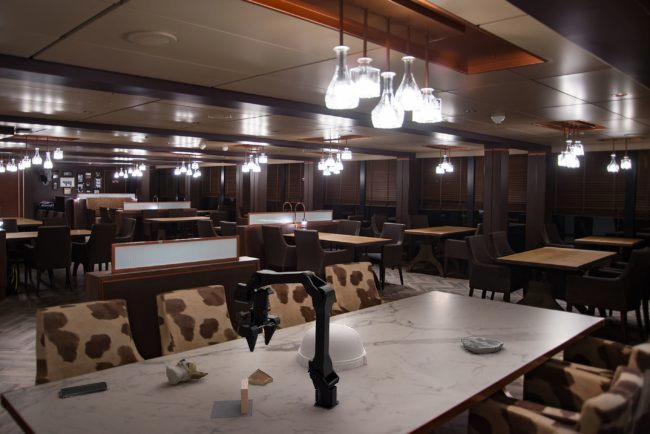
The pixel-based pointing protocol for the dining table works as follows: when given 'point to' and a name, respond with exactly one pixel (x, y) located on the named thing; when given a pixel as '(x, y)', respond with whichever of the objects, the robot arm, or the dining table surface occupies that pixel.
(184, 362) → the ceramic sculpture
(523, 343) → the dining table surface
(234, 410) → the mat
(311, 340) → the dome cover
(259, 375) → the shard
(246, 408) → the tile
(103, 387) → the phone
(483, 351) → the flat grey rock
